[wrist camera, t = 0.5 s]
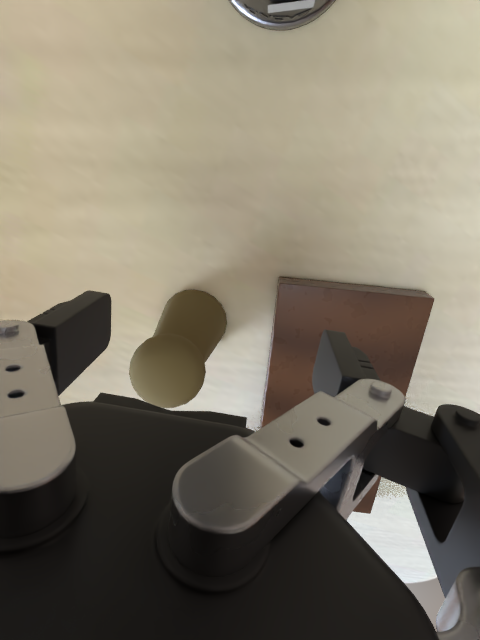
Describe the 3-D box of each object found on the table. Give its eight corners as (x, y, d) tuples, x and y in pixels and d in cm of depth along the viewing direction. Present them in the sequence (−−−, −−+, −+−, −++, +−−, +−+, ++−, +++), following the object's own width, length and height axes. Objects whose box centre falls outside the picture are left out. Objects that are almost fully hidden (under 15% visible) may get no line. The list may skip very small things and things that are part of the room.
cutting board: (278, 276, 32) (279, 282, 30) (425, 291, 31) (435, 298, 29) (253, 483, 41) (252, 498, 39) (366, 498, 40) (370, 514, 38)
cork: (240, 317, 33) (225, 381, 23) (201, 361, 36) (172, 437, 25) (187, 276, 32) (148, 324, 22) (150, 323, 34) (98, 387, 24)
